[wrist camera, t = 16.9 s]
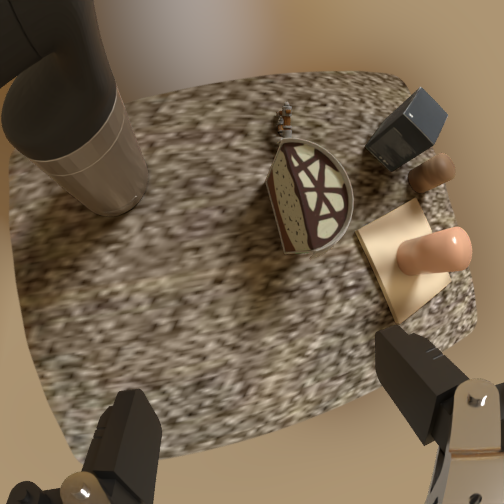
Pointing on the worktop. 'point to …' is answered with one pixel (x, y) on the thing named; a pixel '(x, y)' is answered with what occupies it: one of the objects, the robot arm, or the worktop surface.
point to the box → (408, 130)
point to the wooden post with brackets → (285, 121)
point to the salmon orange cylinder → (435, 253)
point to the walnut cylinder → (431, 173)
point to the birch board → (385, 261)
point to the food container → (309, 197)
